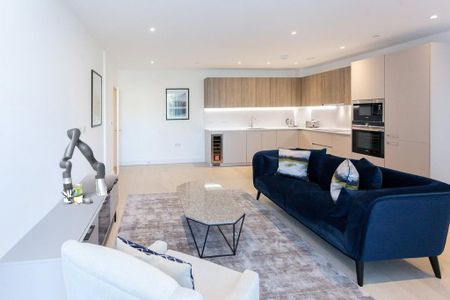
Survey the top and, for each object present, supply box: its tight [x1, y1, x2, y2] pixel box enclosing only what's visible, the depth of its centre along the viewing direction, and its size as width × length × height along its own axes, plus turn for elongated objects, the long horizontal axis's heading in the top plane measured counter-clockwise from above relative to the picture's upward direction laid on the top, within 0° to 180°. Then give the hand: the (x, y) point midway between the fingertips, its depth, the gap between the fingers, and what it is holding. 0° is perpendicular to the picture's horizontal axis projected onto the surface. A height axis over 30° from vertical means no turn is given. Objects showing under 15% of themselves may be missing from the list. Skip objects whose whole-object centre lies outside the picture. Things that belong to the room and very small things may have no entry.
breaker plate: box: [71, 198, 93, 206], centre depth 333 cm, size 14×11×2 cm
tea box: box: [63, 183, 84, 203], centre depth 343 cm, size 15×10×15 cm, turn 168°
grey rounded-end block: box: [84, 197, 92, 205], centre depth 328 cm, size 5×5×5 cm
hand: (69, 201), depth 328 cm, fingers closed
